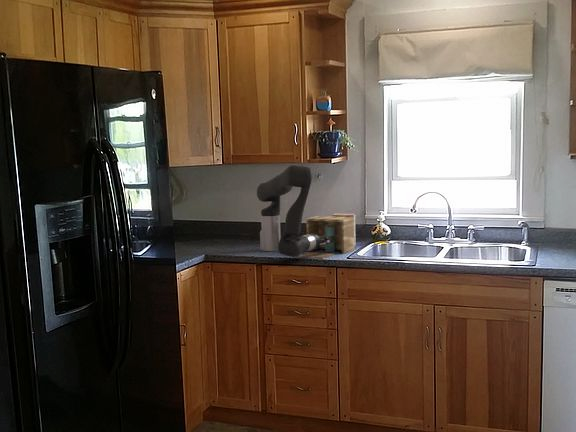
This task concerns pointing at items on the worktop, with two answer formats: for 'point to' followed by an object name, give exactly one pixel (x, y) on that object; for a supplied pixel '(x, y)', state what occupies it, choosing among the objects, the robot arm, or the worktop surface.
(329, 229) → the tin
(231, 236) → the worktop surface
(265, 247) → the robot arm
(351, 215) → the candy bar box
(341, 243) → the cubby
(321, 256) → the trivet
